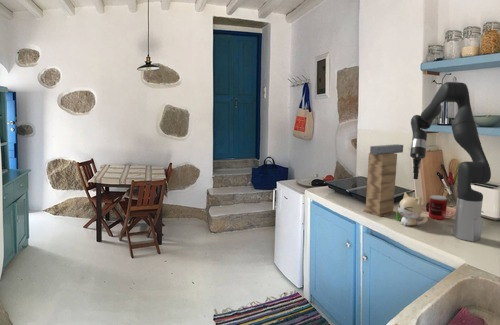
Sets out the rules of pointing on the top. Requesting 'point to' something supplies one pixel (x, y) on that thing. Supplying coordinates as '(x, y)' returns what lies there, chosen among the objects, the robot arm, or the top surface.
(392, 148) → the block
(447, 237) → the top surface
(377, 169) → the stand
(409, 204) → the kitten
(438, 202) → the canned food
